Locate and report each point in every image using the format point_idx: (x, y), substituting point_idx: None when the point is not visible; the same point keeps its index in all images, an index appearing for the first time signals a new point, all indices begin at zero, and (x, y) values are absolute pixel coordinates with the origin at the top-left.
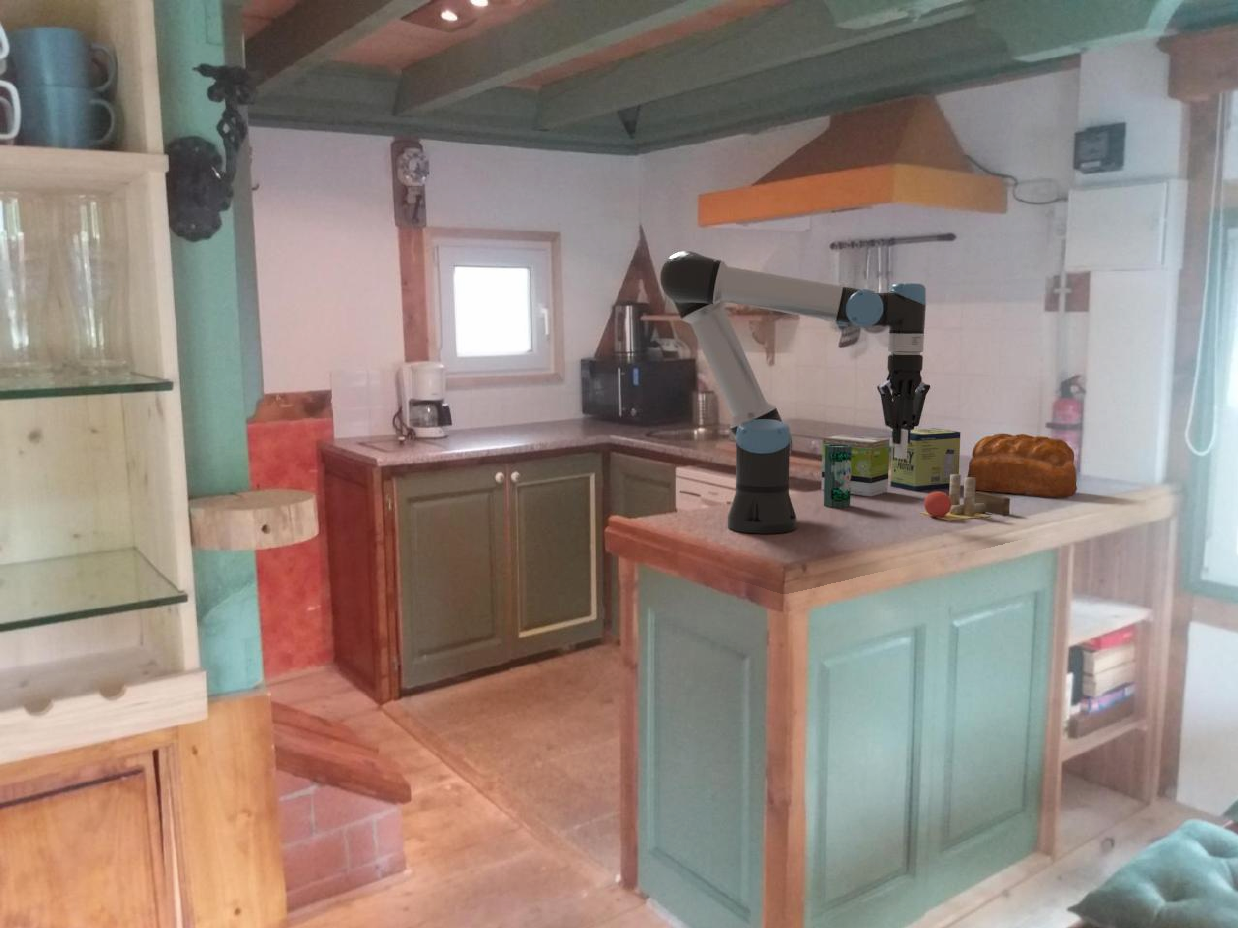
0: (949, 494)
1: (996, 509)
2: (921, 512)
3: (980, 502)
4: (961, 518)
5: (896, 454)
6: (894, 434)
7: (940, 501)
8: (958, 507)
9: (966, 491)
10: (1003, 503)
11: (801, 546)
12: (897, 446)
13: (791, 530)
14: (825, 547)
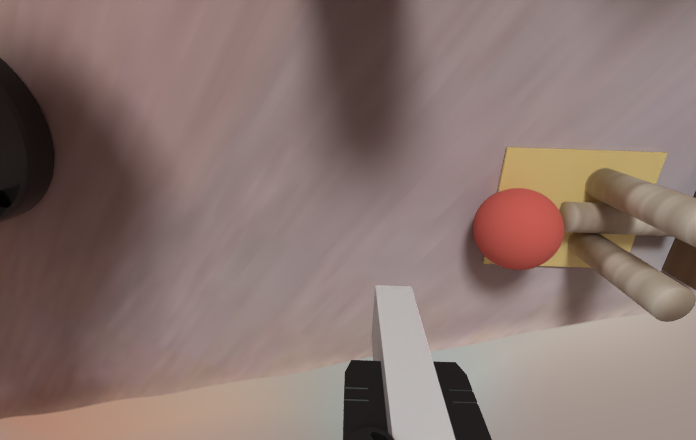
0: (629, 192)
1: (683, 254)
2: (508, 152)
3: None
4: None
5: (375, 314)
6: (343, 435)
7: (498, 264)
8: (581, 231)
9: (616, 282)
10: (694, 288)
11: (17, 331)
12: (378, 354)
13: (25, 211)
14: (64, 353)
